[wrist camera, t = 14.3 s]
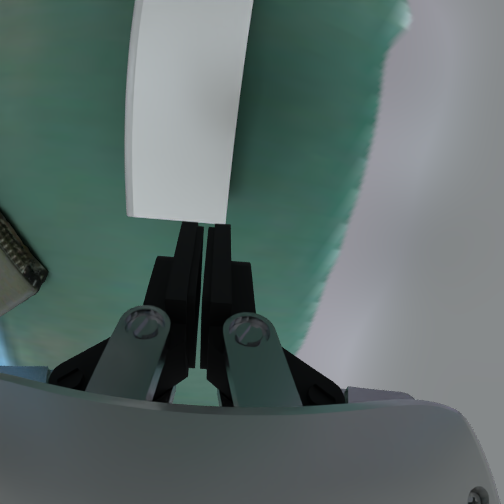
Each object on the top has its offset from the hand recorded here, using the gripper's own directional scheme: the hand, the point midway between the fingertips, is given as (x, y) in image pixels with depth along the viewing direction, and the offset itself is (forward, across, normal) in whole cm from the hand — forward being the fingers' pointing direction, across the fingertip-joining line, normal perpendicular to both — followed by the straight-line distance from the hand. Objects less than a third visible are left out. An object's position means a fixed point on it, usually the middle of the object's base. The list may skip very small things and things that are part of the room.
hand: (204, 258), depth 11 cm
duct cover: (+16, +3, -5) cm, 17 cm away
